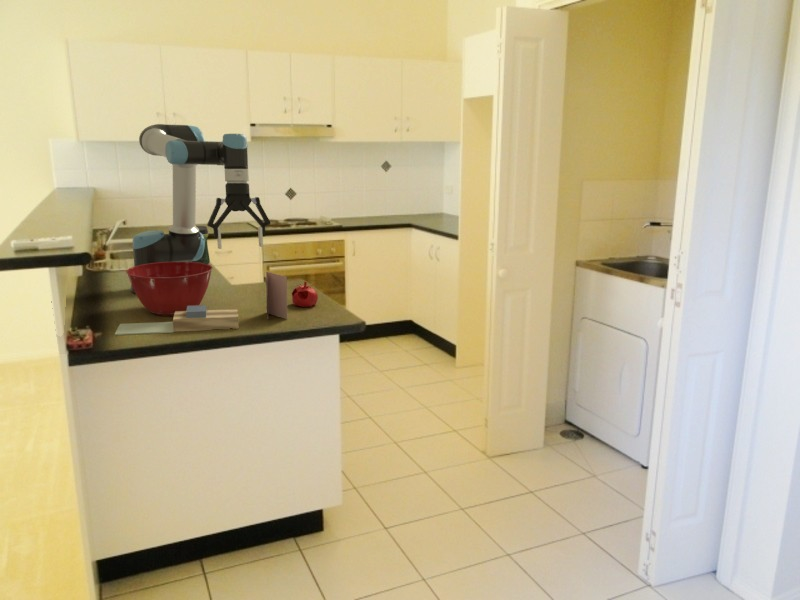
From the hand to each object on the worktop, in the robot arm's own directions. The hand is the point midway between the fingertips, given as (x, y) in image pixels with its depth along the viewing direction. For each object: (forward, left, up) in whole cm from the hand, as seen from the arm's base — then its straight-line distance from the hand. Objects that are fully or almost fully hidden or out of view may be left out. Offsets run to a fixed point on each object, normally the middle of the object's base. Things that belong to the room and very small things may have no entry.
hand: (240, 247), depth 209 cm
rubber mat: (+6, -30, -25) cm, 40 cm away
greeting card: (-2, +11, -25) cm, 28 cm away
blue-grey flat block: (+6, -15, -21) cm, 26 cm away
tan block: (+6, -12, -25) cm, 28 cm away
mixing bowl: (-15, -24, -25) cm, 38 cm away
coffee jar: (-104, -17, -25) cm, 108 cm away
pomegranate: (-17, +23, -25) cm, 38 cm away
